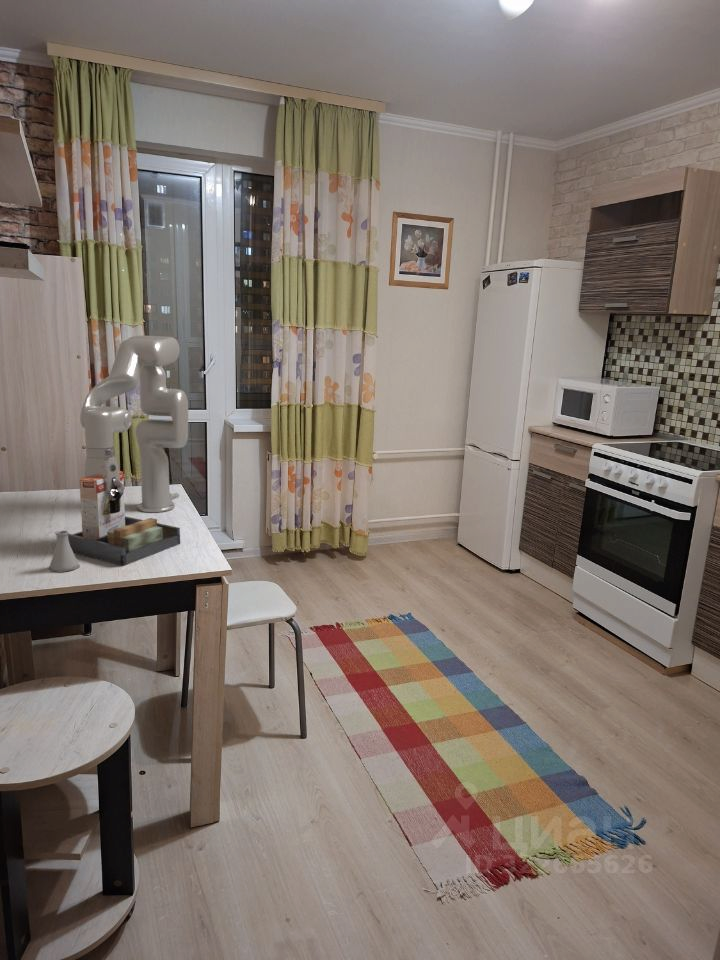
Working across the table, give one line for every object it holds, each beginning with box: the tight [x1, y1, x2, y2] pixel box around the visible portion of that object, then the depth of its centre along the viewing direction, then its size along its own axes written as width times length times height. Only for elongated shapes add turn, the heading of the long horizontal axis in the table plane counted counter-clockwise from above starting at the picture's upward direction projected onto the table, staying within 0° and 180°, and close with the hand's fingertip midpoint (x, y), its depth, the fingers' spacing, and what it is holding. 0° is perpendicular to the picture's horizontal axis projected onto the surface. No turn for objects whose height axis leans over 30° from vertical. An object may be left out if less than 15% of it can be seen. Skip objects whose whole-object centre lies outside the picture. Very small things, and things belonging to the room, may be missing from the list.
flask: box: [48, 529, 81, 573], centre depth 173 cm, size 7×7×10 cm
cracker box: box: [79, 470, 126, 539], centre depth 192 cm, size 14×6×21 cm, turn 168°
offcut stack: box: [107, 517, 163, 552], centre depth 188 cm, size 14×8×8 cm, turn 153°
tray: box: [68, 515, 181, 566], centre depth 191 cm, size 22×26×5 cm
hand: (103, 510), depth 192 cm, fingers open, 9 cm apart
